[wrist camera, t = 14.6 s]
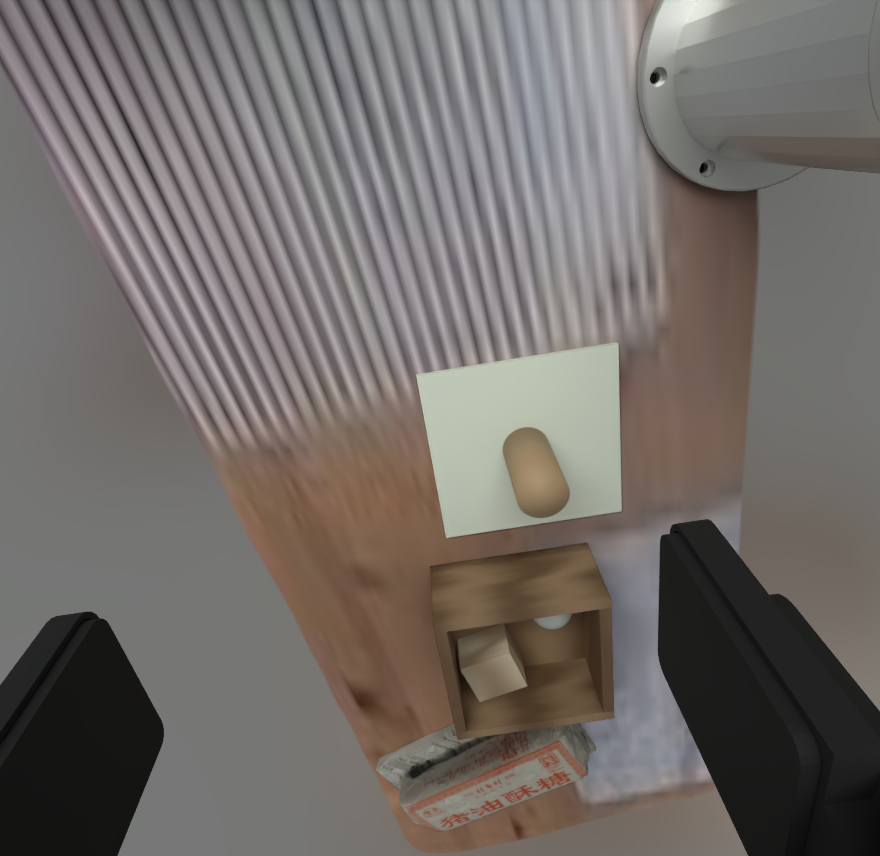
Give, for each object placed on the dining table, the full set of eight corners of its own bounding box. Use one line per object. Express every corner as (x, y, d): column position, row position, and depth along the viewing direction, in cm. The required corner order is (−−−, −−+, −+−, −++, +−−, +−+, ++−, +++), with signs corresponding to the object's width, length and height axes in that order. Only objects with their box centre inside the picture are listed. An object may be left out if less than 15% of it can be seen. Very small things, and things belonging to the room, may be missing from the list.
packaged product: (558, 725, 48) (609, 788, 52) (545, 676, 52) (593, 738, 56) (372, 806, 51) (433, 859, 55) (375, 754, 56) (431, 806, 60)
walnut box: (586, 542, 45) (610, 598, 40) (592, 655, 50) (614, 718, 45) (430, 566, 45) (433, 624, 40) (452, 675, 51) (457, 740, 45)
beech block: (503, 623, 47) (509, 652, 44) (521, 655, 49) (527, 686, 46) (457, 639, 48) (460, 669, 45) (475, 671, 49) (479, 702, 47)
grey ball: (566, 572, 45) (576, 603, 42) (568, 604, 47) (578, 635, 44) (524, 579, 45) (531, 609, 42) (527, 610, 47) (535, 641, 44)
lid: (614, 339, 38) (652, 378, 32) (618, 505, 44) (651, 564, 38) (416, 371, 39) (417, 415, 33) (445, 531, 45) (451, 594, 39)
